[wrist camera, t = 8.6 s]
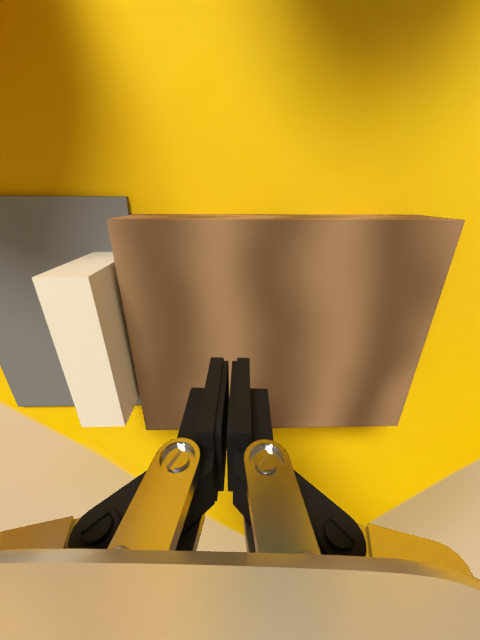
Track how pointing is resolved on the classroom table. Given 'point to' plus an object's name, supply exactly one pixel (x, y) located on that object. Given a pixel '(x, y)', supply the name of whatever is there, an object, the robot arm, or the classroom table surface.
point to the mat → (19, 291)
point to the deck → (282, 308)
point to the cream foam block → (91, 337)
